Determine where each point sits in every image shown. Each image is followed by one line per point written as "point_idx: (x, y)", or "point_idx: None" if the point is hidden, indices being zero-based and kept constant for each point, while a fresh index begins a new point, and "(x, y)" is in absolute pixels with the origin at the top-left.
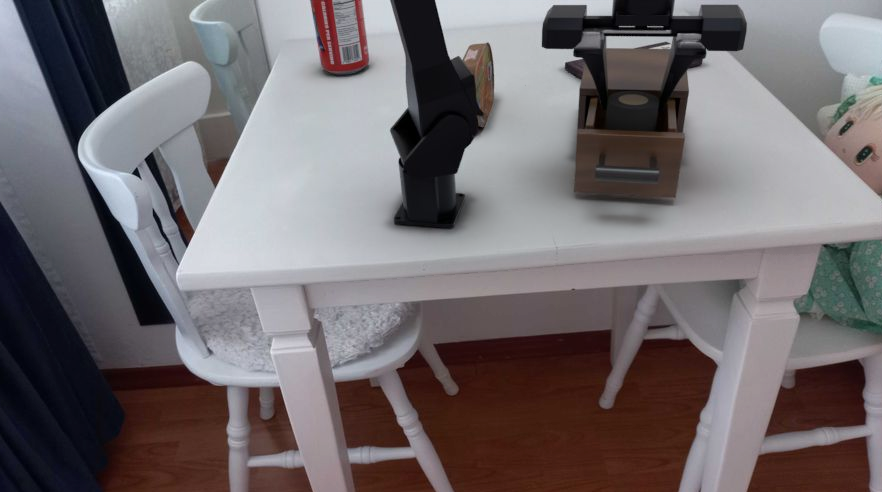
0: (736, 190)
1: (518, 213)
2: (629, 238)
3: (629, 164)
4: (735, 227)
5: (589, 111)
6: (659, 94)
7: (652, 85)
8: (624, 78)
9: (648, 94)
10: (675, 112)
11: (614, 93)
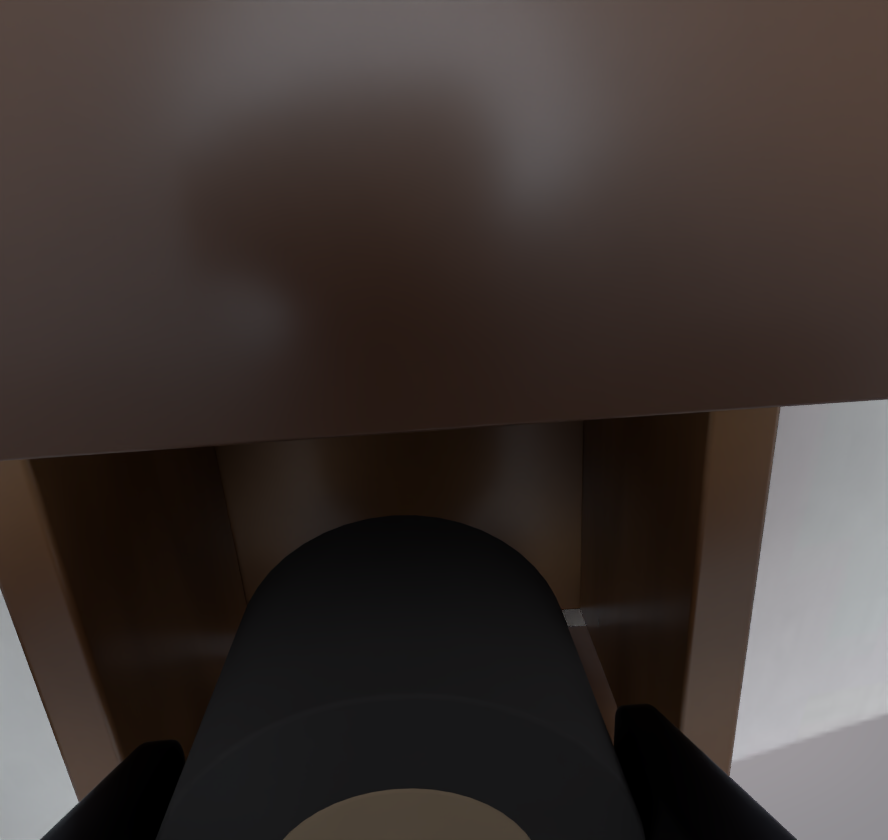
0: (874, 479)
1: (65, 774)
2: None
3: None
4: (803, 712)
5: (48, 700)
6: (661, 801)
7: (585, 272)
8: (161, 24)
9: (545, 760)
10: (751, 615)
11: (185, 801)
